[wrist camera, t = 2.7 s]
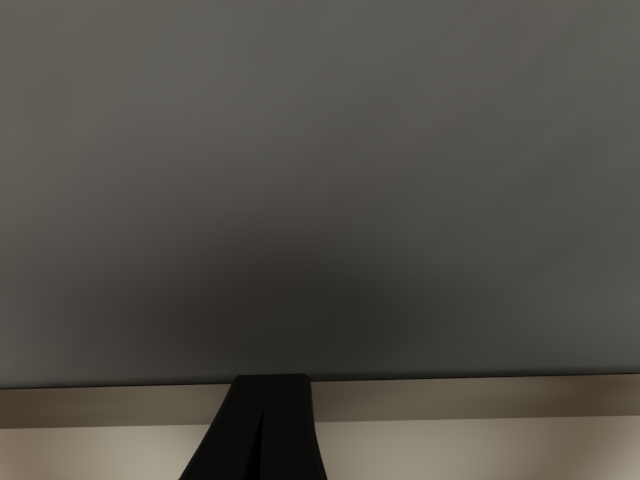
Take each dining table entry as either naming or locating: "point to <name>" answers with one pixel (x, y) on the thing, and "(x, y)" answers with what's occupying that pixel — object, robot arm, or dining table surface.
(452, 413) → the board
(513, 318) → the dining table surface
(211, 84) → the dining table surface
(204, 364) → the dining table surface
